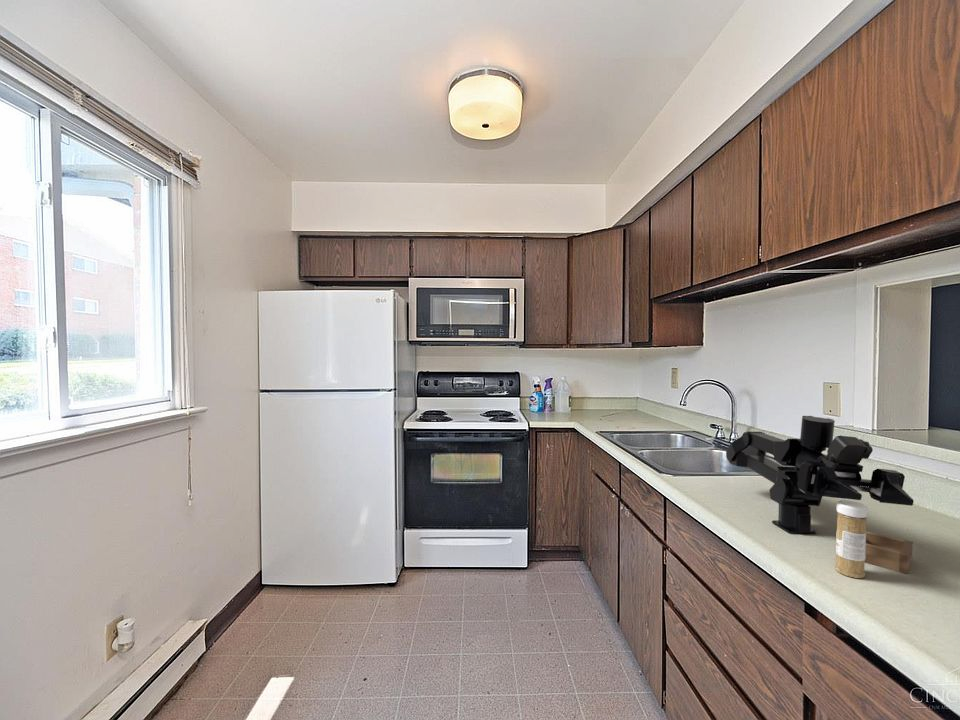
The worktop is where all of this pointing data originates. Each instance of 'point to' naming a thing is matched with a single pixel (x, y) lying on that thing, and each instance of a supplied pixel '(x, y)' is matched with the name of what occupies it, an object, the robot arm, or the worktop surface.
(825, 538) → the worktop surface
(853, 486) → the robot arm
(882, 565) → the walnut collar
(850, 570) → the sprinkles bottle
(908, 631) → the worktop surface
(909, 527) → the worktop surface
